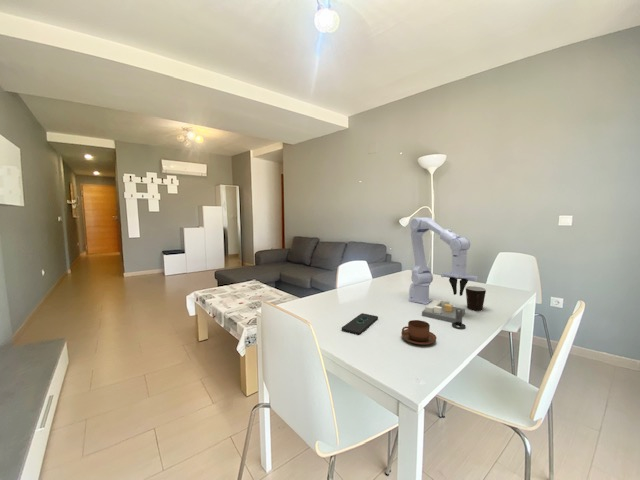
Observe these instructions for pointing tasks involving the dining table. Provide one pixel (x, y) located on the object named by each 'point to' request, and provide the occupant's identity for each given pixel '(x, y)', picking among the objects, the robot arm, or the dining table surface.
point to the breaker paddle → (448, 308)
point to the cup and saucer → (418, 333)
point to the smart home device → (360, 324)
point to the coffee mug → (475, 297)
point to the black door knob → (458, 320)
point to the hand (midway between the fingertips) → (458, 294)
